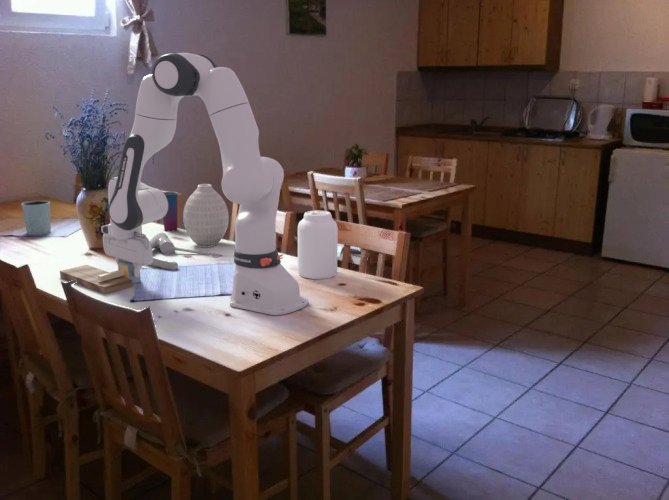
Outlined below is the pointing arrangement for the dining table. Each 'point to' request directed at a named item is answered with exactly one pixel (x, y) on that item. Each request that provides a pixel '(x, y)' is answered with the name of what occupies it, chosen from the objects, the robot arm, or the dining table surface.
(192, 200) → the vase
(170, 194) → the cup
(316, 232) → the white jar
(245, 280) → the robot arm
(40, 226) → the pale blue tumbler
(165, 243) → the faucet
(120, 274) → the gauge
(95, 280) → the board
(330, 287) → the dining table surface
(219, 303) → the dining table surface
